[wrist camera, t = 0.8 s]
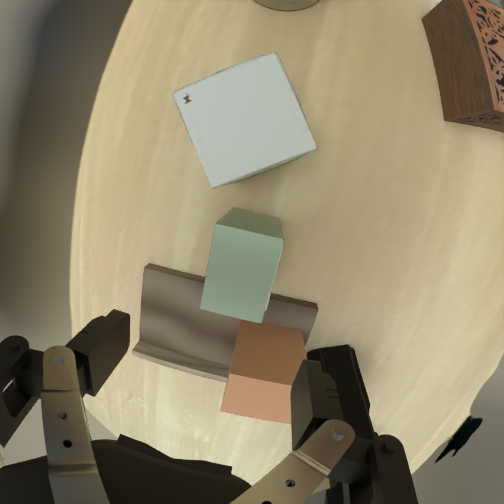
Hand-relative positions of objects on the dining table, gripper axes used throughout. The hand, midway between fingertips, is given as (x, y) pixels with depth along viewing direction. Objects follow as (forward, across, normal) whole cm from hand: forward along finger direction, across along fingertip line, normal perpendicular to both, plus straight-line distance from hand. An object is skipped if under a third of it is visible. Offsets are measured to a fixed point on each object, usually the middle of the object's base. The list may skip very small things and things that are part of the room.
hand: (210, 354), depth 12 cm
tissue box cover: (+21, -29, -31) cm, 47 cm away
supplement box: (+20, +2, -11) cm, 23 cm away
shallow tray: (+20, +1, +11) cm, 23 cm away
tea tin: (+20, 0, 0) cm, 20 cm away
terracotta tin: (+18, -5, +11) cm, 22 cm away
